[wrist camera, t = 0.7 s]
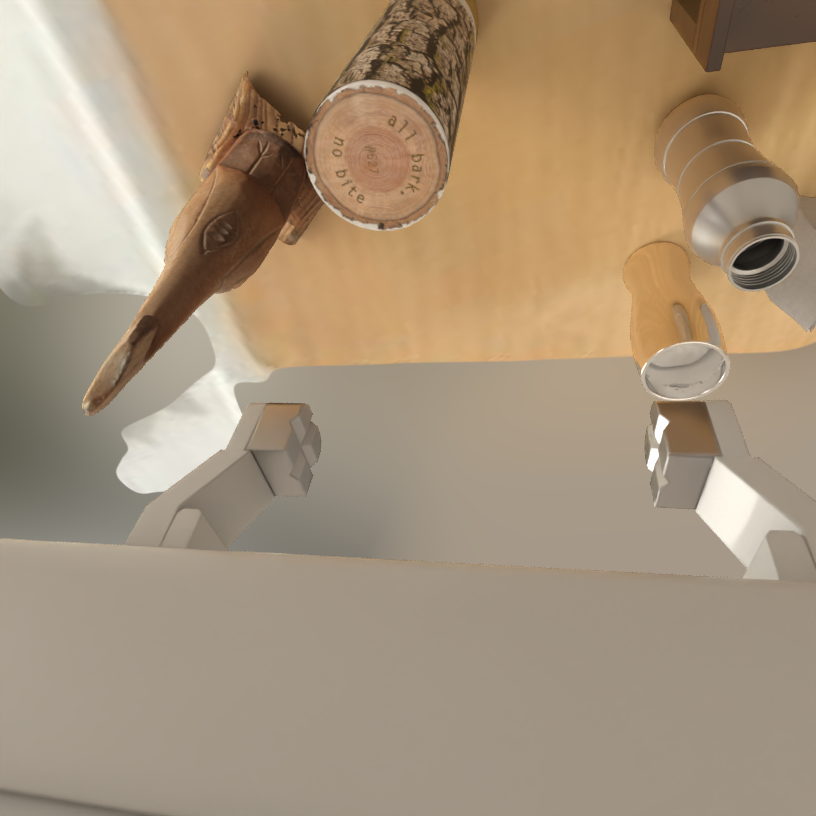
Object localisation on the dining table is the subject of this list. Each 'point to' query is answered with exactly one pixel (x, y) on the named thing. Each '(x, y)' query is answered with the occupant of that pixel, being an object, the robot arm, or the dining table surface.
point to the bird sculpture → (219, 231)
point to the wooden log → (394, 115)
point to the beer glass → (672, 326)
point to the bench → (741, 26)
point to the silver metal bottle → (729, 193)
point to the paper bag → (801, 271)
